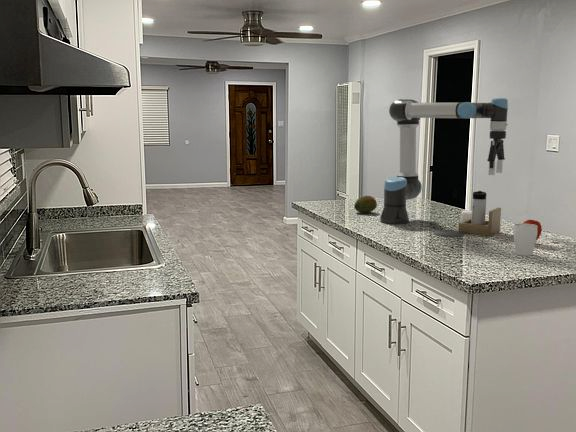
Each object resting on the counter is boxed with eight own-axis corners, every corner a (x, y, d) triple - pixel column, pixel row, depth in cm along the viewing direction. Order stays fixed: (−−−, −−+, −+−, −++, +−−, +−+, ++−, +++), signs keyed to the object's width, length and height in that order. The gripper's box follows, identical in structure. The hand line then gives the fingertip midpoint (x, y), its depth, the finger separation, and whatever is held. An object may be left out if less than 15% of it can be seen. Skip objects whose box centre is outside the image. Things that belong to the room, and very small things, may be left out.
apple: (517, 241, 260) (518, 217, 259) (536, 241, 260) (537, 217, 258) (524, 245, 252) (525, 221, 250) (544, 245, 252) (545, 221, 250)
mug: (482, 228, 293) (483, 212, 291) (461, 227, 295) (462, 211, 293) (479, 223, 304) (480, 208, 303) (459, 223, 306) (460, 208, 305)
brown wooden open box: (458, 233, 279) (459, 208, 277) (468, 228, 290) (469, 205, 288) (490, 237, 270) (492, 211, 268) (499, 232, 281) (501, 207, 279)
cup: (508, 252, 240) (509, 223, 238) (529, 251, 241) (531, 223, 239) (518, 257, 231) (520, 227, 229) (540, 256, 232) (542, 227, 230)
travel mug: (484, 231, 283) (486, 191, 279) (484, 234, 276) (486, 192, 273) (471, 230, 285) (473, 190, 281) (470, 233, 278) (472, 192, 275)
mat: (429, 234, 276) (429, 233, 276) (440, 230, 287) (440, 229, 287) (458, 238, 268) (458, 237, 268) (468, 233, 279) (468, 232, 279)
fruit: (379, 213, 338) (380, 196, 337) (363, 215, 331) (364, 198, 330) (366, 210, 348) (366, 194, 346) (350, 212, 341) (350, 195, 339)
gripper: (498, 131, 270) (496, 176, 274) (512, 130, 291) (509, 172, 294) (482, 131, 274) (480, 175, 278) (497, 129, 295) (494, 171, 298)
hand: (495, 173), depth 286 cm, fingers open, 13 cm apart
